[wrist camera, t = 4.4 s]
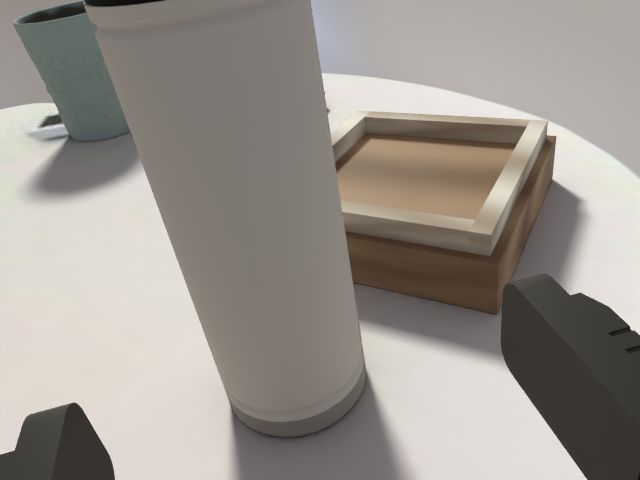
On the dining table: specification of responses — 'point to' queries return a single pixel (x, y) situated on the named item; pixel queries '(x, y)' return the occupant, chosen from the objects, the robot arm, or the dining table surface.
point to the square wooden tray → (440, 201)
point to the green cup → (73, 70)
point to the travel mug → (245, 194)
